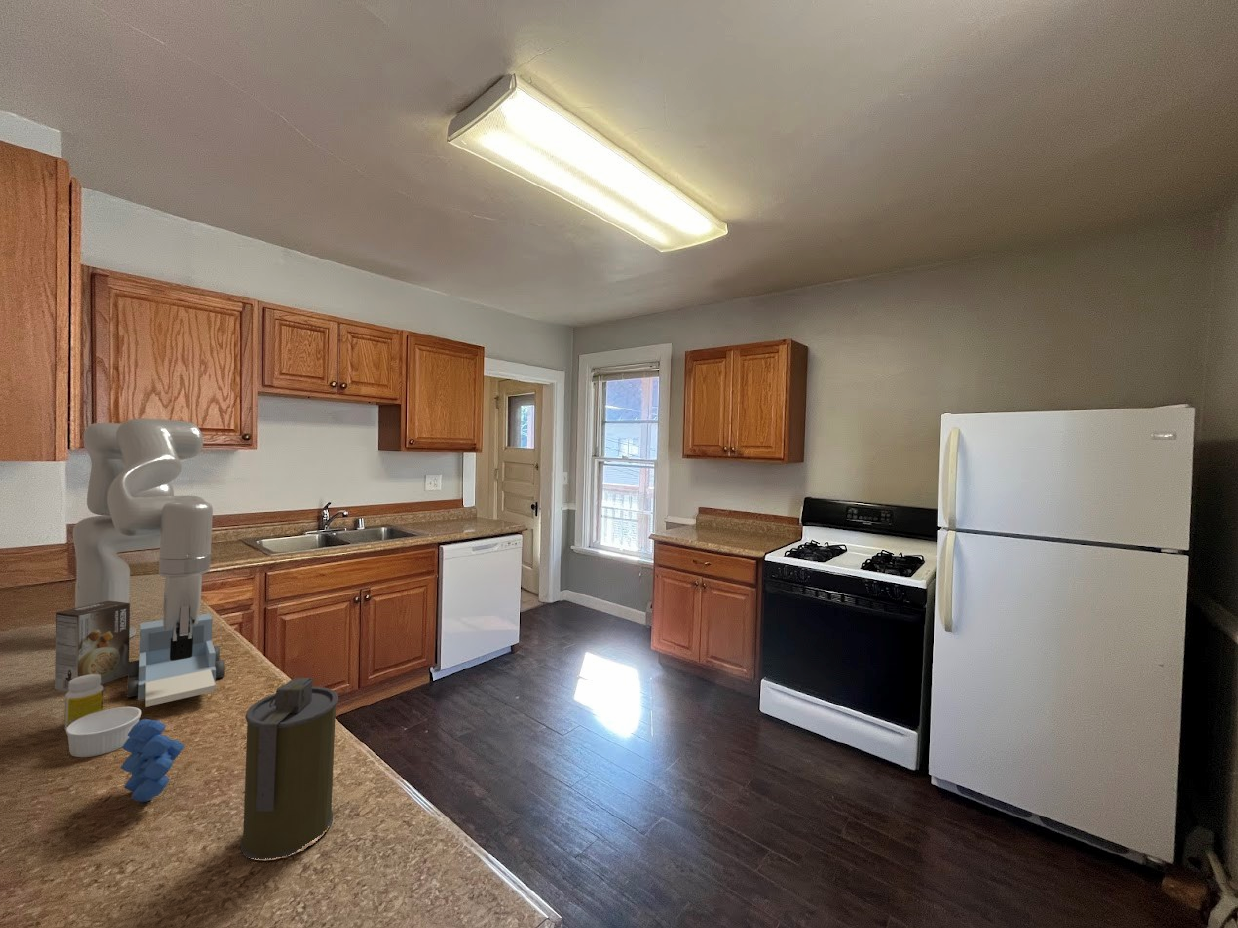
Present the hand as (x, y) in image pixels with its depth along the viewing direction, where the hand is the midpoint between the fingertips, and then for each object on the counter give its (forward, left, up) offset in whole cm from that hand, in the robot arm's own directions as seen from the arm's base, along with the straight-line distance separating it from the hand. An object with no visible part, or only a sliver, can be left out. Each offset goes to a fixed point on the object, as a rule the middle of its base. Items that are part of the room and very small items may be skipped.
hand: (181, 657), depth 97 cm
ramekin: (+8, -10, -10) cm, 16 cm away
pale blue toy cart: (-16, 0, -10) cm, 19 cm away
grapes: (+30, -4, -10) cm, 32 cm away
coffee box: (-23, -13, -10) cm, 28 cm away
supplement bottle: (-2, -13, -10) cm, 16 cm away
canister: (+50, +9, -10) cm, 52 cm away
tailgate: (-7, 0, -7) cm, 10 cm away
